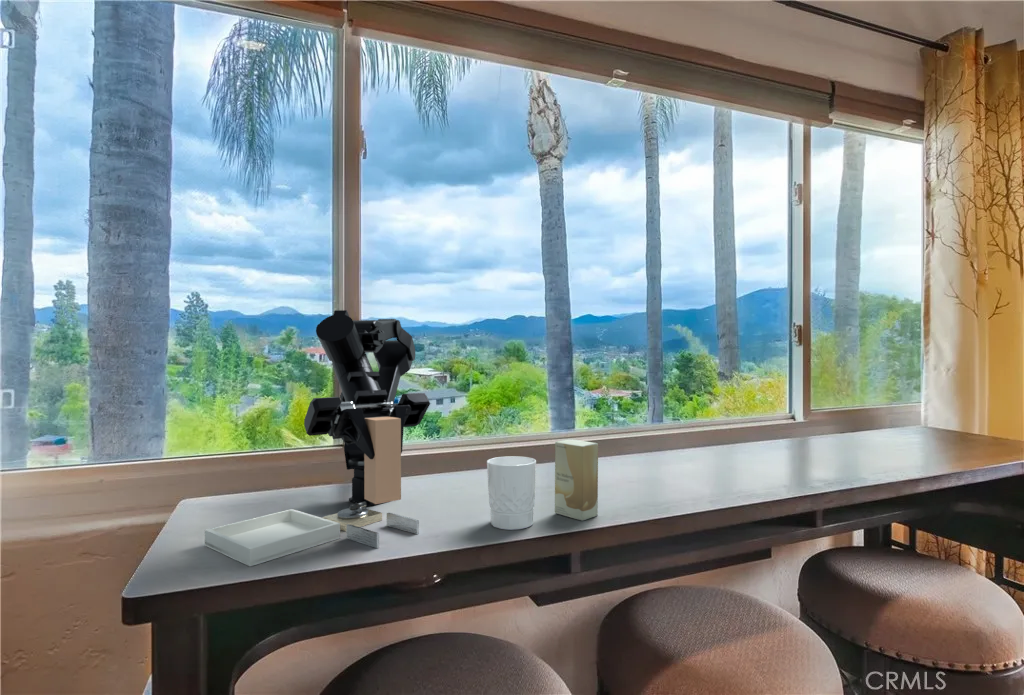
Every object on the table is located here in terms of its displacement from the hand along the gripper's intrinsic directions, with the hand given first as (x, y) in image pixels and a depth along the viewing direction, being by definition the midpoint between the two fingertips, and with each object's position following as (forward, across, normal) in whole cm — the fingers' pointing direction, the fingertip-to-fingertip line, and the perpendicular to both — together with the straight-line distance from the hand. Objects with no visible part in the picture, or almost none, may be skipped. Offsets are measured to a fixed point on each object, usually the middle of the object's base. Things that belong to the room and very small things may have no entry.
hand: (386, 455), depth 77 cm
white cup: (+13, -19, -4) cm, 23 cm away
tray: (+2, +13, -15) cm, 20 cm away
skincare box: (+16, -30, -2) cm, 34 cm away
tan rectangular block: (+4, 0, -6) cm, 7 cm away
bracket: (+4, 0, -13) cm, 14 cm away
